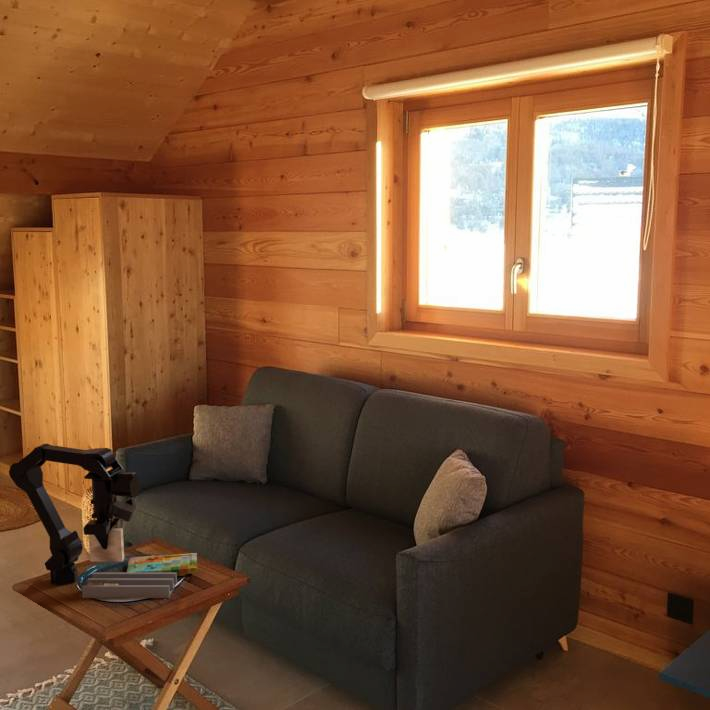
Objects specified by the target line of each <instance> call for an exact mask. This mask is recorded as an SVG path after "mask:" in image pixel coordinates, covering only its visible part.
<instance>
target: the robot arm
mask: <svg viewBox="0 0 710 710" xmlns="http://www.w3.org/2000/svg"><path fill="white" fill-rule="evenodd" d="M46 462H53V463H58V464H59V463H60V464H66V465H73V466H78V467H81V468H82V469H83V470H84V471H87V474H86V475H84V476H83V478H84V480H91V491H92V499H90V505H92V506H93V512H92V513H91V519H90V520H89V521H88V522H87V523H86V524H85V525H84V526H82V527H83V528H82V529H83V530H82V531H83V535H85V536H86V535H87V536H89V535H95V537H96V538H97V540H98V542H99V543H100V545H101V547H102V548H103V549H107V547H108V537H109V531H111V529H112V528H114V527H115V526H116V525H117V523H118V522H119V521H120V520H123V521H124V522H127V523H128V522H130V521H131V520H132V519H133V518H134V515H135V512H136V510H137V505H136V504H135V499H133V498H136V497H138V495H139V494H140V492H141V485H142V484H141V481H140V478H139V477H138V476H137V472H136V471H131V472H129V471H128V472H127V471H125V469H124V467H123V466H122V465H121V463H120V461H119V460H118V459H117V457H116V455H115V453H114V452H113V450H112V449H111V448H109V447H96V448H90V449H80V448H73V447H66V446H61V445H53V444H49V443H43V444H42V443H41V444H40V445H38V446H36V447H34V448H33V449H32V450H31V451H30V452H29V453H28V454H26V455H25V456H24V457H23V458H21V459H20V460H18V461H16V462H14V463H12V464H11V465H10V466H9V470H8V475H9V477H10V479H11V480H12V481H13V484H14V485H15V487H17V488H18V489H20V490H22V491H23V492H24V493H25V494H26V495H27V497H28V498H29V500H30V502H31V505H32V507H33V509H34V510H35V512H36V514H37V517H38V518H39V520H40V521H41V524H42V525H43V528H44V529H45V531H46V533H47V535H48V537H49V551H50V553H51V556H50V557H49V558H48V559H47V560H46V561H45V562H44V567H45V569H46V570H47V571H49V572H50V584H53V585H56V586H65V585H69V584H75V583H77V581H78V580H79V576H78V575H79V574H78V568H76V563H75V562H77V561H79V558H80V555H82V554H83V549H84V546H83V544H82V543H83V540H81V538H80V536H79V534H78V532H77V530H73V531H71V530H69V529H68V528H66V526H65V524H64V522H63V521H62V518H61V517H60V514H59V512H58V510H57V509H56V506H55V505H54V503H53V501H52V500H51V497H50V496H49V494H48V492H47V490H46V488H45V486H44V484H43V483H44V473H43V470H42V466H43V465H45V463H46ZM108 469H109V470H108ZM107 470H108V471H107ZM118 497H126V498H127V499H126V500H125V501H124V500H122V501H120V500H119V499H118Z"/></svg>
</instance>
